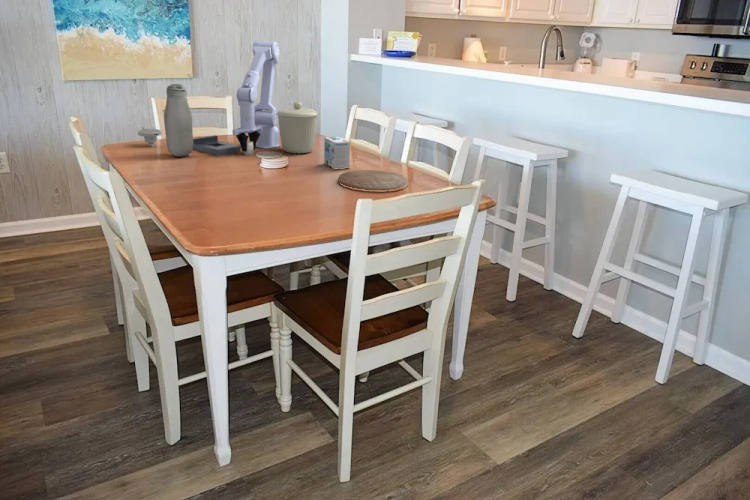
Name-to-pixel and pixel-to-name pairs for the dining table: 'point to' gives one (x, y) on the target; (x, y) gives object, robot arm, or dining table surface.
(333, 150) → the light bulb box
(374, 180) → the trivet
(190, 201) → the dining table surface
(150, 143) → the showerhead
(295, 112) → the canister
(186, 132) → the grey green bottle
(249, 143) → the white rounded capsule
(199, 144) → the jig
